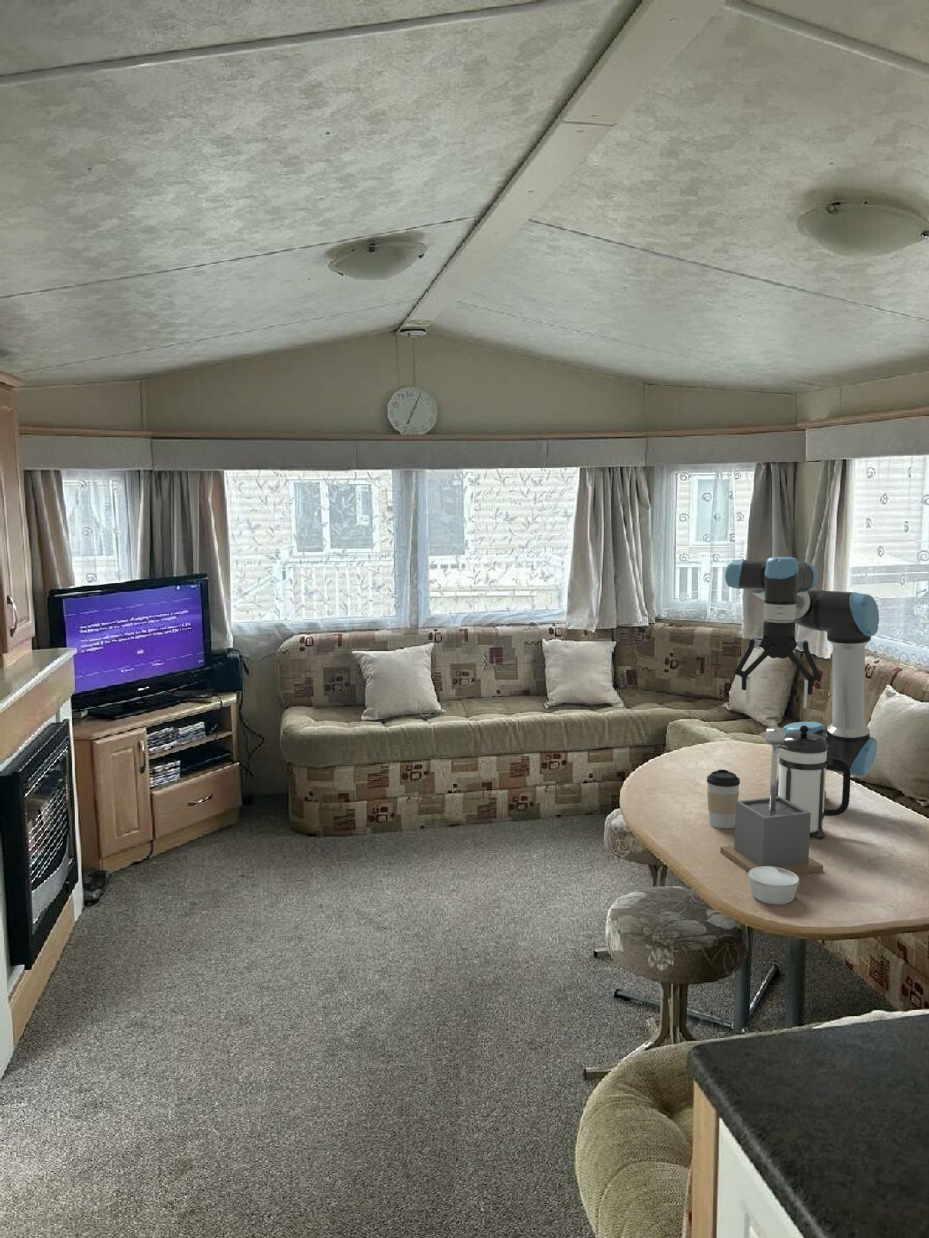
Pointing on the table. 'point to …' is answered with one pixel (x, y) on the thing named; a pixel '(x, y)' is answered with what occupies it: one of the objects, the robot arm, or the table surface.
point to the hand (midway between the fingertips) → (776, 705)
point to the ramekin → (773, 884)
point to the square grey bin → (772, 839)
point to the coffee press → (809, 776)
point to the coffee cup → (722, 798)
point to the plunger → (773, 777)
